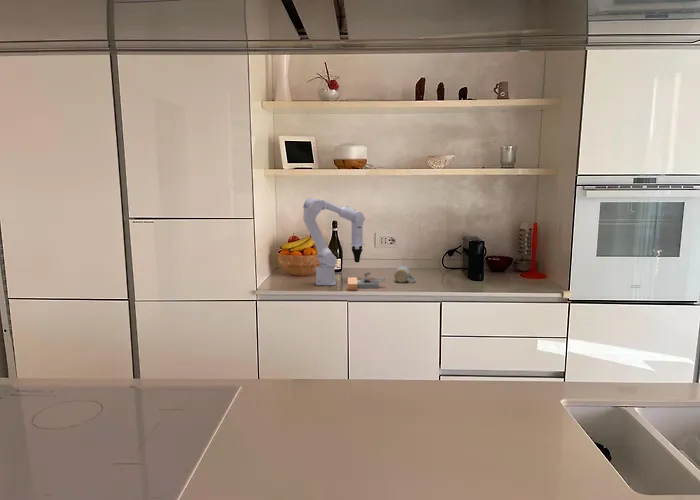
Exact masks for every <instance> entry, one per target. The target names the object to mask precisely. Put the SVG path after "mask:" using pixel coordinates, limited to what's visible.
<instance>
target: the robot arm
mask: <svg viewBox="0 0 700 500" xmlns="http://www.w3.org/2000/svg"><path fill="white" fill-rule="evenodd" d="M302 208H303V222H304V224H305V226H306V228H307V231H308V233H309V235H310V237H311V240H312V241H313V244H314V246H315V248H316V251H317V252H316V254H317V259H318V262H319V263H320V264H319V266H316V267H315V282H316V284H315V285H316V286H335V285H336V283H337V282H336V280H335V279H336V277H335V267H336V264H337V261H338V259H337V256H335V255H334V254H333V253H332V252H333V251H332V250H331V249H330V248H329V247H328V245H327V242H326V241H325V239H324V236H323V234H322V232H321V230H320V228H319V227H320V226H318V223H317V220H316V219H317V216H318V215H319V213H321V212H322V211H325V210H329V211H331V212H334V213H337V214H338V217H340V218H342V219H345V220H347V221H350V222H351V243H350V245H351V251H352V254H353V259H354V263H360V260H361V254H362V252H363V246H365V244H366V243H365V242H364V240H363V234H364V233H363V229H364V228H363V226H364V222H365V220H366V216H365V215H364V213H363V212H361V211H357V209H356V208H355V209H353V208H349V206H348V205H343V206H339V205H336V204H334V203H331V202H330V201H329V202H328V201H326V200H322V199H320V198H312V197H310V198H309V197H308V198H307V199H306V200H305V201H304V203H303V205H302Z"/></svg>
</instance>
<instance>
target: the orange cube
mask: <svg viewBox="0 0 700 500" xmlns="http://www.w3.org/2000/svg"><path fill="white" fill-rule="evenodd" d="M357 280H358V277H347V290H348V291H357V290H358V288H357Z"/></svg>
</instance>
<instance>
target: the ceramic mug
mask: <svg viewBox="0 0 700 500" xmlns="http://www.w3.org/2000/svg"><path fill="white" fill-rule="evenodd" d="M394 272H395V273H394V275H393V276H394V280H395V281H396V282H398V283H401V284H403V283H405V282H410V283H415V282H416V278H415V277H414V276H412V275H411V270H410V269H409V267H407V266H405V265H400V266H398V267H396V270H395V271H394Z"/></svg>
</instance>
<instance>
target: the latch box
mask: <svg viewBox="0 0 700 500" xmlns="http://www.w3.org/2000/svg"><path fill="white" fill-rule="evenodd" d="M379 283H380V282H375V281H369V282H365V281H364V279H357V289H379V288H380V285H379Z"/></svg>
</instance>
